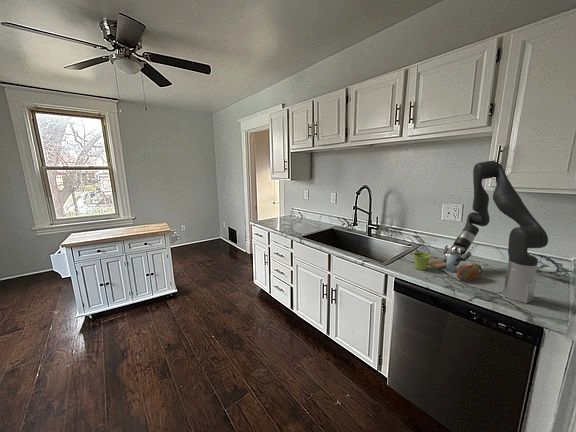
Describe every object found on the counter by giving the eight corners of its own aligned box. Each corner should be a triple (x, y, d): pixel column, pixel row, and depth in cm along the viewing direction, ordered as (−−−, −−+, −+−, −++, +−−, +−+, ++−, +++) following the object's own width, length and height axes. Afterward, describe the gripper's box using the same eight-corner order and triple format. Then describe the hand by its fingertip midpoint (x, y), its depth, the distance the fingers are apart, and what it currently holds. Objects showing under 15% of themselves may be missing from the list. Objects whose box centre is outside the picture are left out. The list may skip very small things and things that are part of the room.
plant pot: (411, 270, 143) (413, 256, 141) (411, 264, 151) (412, 251, 149) (430, 272, 139) (431, 258, 137) (428, 266, 147) (430, 253, 145)
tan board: (452, 265, 148) (452, 263, 147) (439, 269, 143) (439, 267, 142) (436, 260, 156) (436, 258, 156) (423, 263, 152) (424, 261, 151)
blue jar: (458, 271, 139) (460, 251, 137) (452, 273, 137) (454, 253, 135) (448, 267, 144) (450, 248, 142) (442, 269, 142) (444, 250, 140)
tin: (460, 282, 126) (461, 267, 125) (454, 279, 129) (456, 265, 128) (481, 278, 130) (483, 263, 128) (475, 275, 133) (477, 261, 131)
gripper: (449, 234, 146) (434, 256, 144) (475, 239, 134) (460, 264, 131) (453, 241, 150) (439, 262, 147) (480, 247, 137) (465, 271, 134)
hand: (449, 263), depth 139 cm, fingers closed on blue jar, 5 cm apart
